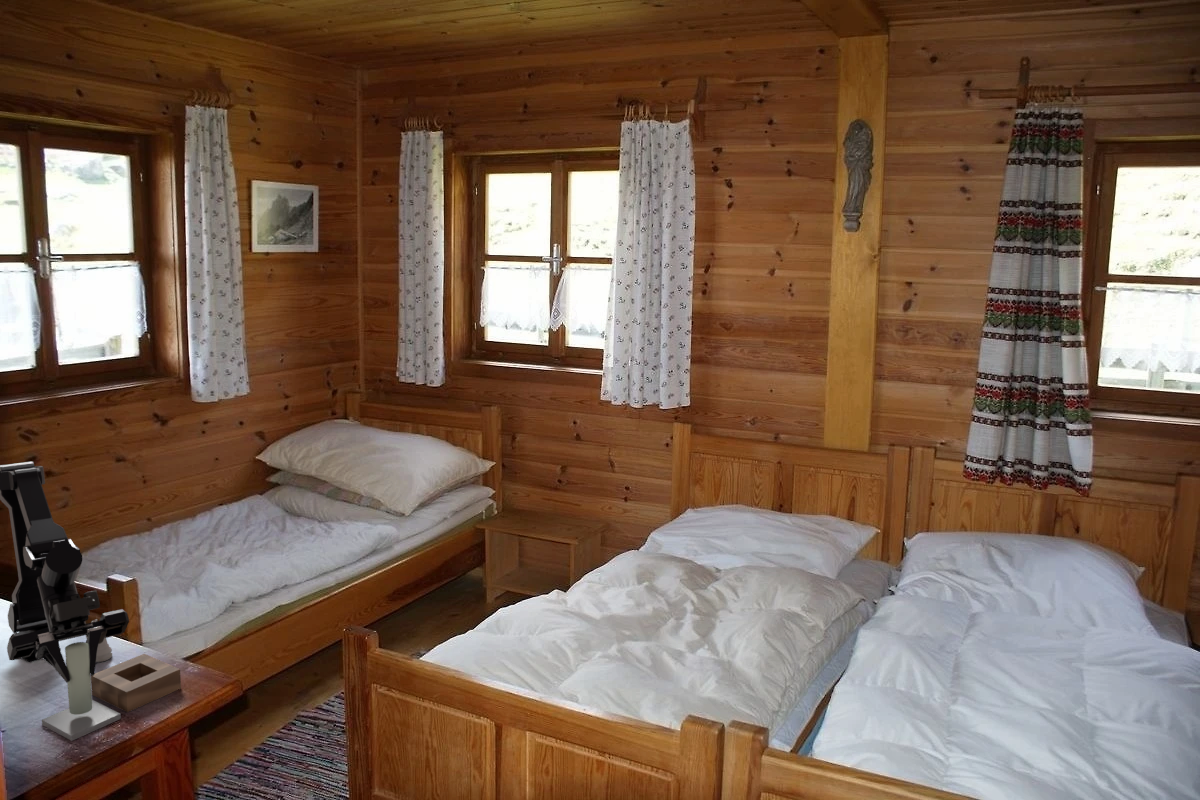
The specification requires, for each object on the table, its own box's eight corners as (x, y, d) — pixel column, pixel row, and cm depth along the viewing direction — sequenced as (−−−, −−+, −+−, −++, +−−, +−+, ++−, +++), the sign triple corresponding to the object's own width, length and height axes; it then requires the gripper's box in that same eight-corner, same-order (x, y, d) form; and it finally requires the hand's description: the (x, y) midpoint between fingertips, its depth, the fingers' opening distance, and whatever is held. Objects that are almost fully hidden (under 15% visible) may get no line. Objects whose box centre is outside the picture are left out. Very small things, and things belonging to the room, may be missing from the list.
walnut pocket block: (91, 694, 181) (90, 675, 180) (145, 672, 190) (144, 653, 189) (127, 712, 175) (126, 692, 175) (180, 688, 185) (180, 669, 184)
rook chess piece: (102, 664, 192) (100, 627, 191) (82, 661, 193) (80, 624, 192) (117, 654, 197) (115, 618, 195) (98, 652, 198) (96, 615, 196)
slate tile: (42, 724, 170) (41, 719, 170) (91, 703, 178) (90, 698, 177) (71, 740, 165) (71, 735, 165) (120, 718, 173) (120, 713, 173)
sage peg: (67, 707, 171) (63, 645, 169) (90, 702, 174) (86, 640, 171) (71, 716, 169) (67, 653, 166) (94, 710, 171) (90, 648, 168)
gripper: (5, 590, 163) (25, 676, 157) (123, 567, 176) (146, 645, 170) (-1, 618, 170) (18, 700, 165) (112, 594, 183) (134, 669, 177)
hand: (80, 678), depth 169 cm, fingers closed on sage peg, 4 cm apart
